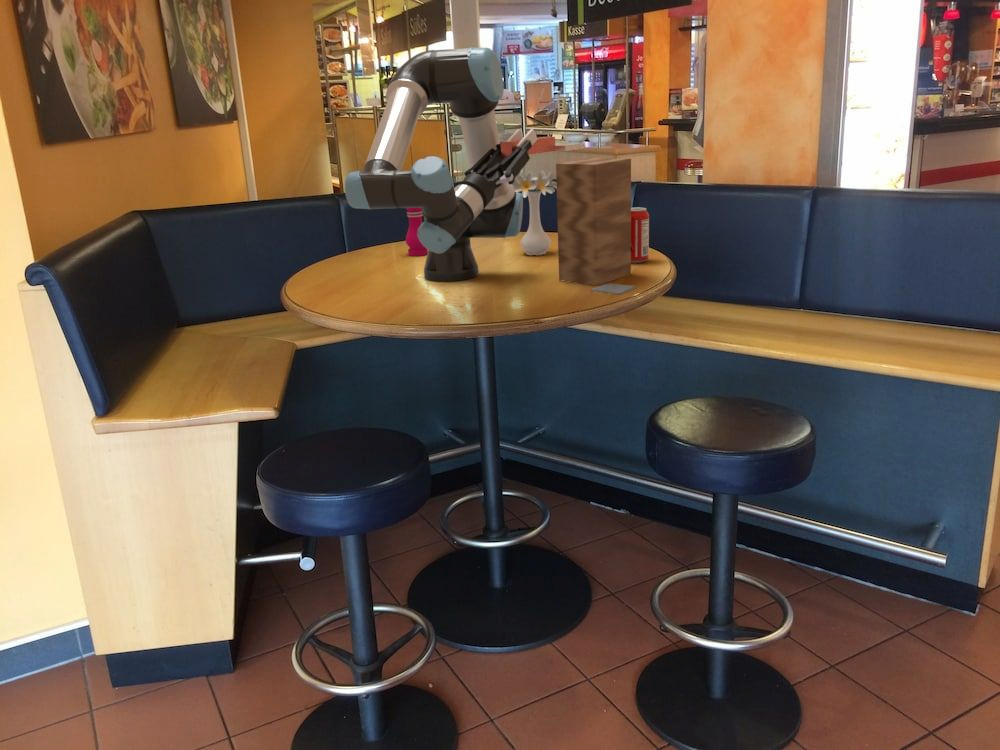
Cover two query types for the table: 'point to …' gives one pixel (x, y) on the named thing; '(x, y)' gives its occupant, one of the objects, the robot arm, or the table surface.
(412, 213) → the pepper mill
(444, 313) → the table surface
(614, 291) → the tile
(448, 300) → the table surface
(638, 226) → the soda can
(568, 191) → the stand
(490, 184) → the robot arm
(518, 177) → the flower vase
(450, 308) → the table surface
